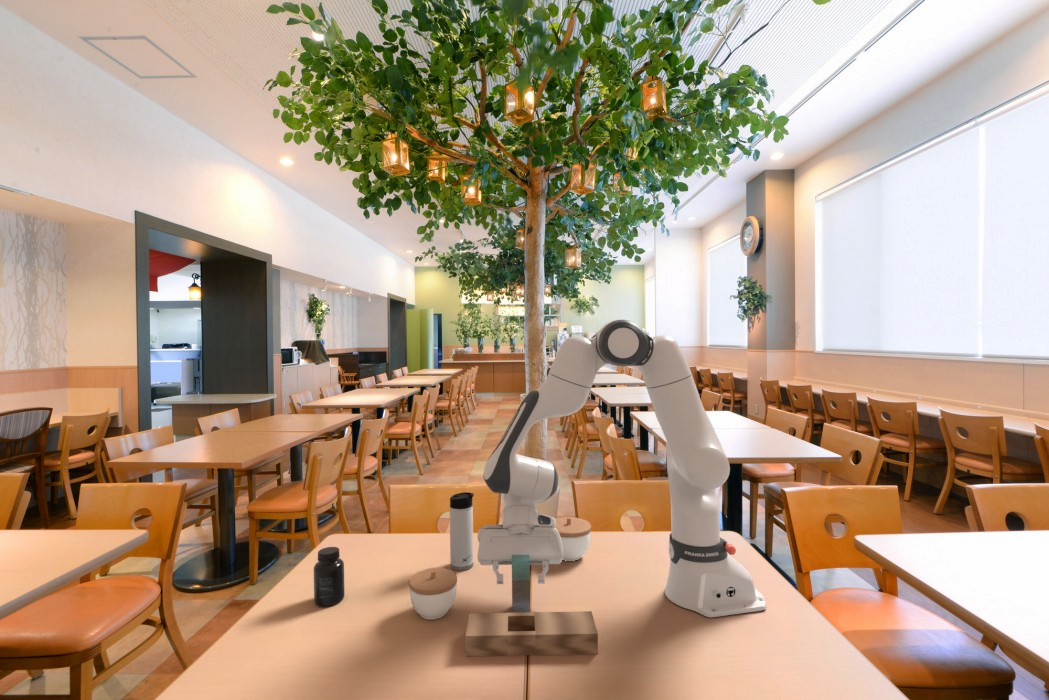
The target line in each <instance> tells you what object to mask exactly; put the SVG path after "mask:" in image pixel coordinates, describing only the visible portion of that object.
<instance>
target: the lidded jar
mask: <svg viewBox="0 0 1049 700" xmlns="http://www.w3.org/2000/svg"><path fill="white" fill-rule="evenodd" d="M457 583H458V577H457V574H456V572H455V571H453V570H451V569H449V568H443V567H434V568H433V567H431V568H427V569H422V570H420V571H417V572H416V573H415V574H413V575H412V576H411V577H410V578H409V586H408V587H409V595H410V601H411V605H412V607H413V609H414V610H415V611H416V613H417V614H419V615H420V617H421V618H422V619H425V620H431V621H432V620H438V619H441V618H443V617H444V616H445V615H447V613H448V611H449V610H450V609H451V608H452V606H453V604H454V602H455V600H456V596H457V586H458V585H457Z"/></svg>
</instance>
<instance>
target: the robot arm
mask: <svg viewBox="0 0 1049 700" xmlns="http://www.w3.org/2000/svg"><path fill="white" fill-rule="evenodd" d="M606 365H611V366H615V367H636V368H638V370H639V372H640V373H641V375H642V377H643V381H644V385H645V387H646V390H647V393H648V396H649V400H650V402H651V405H652V409H653V411H654V414H655V417H656V420H657V422H658V423H659V426H660V427H661V430H662V433H663V435H664V438H665V440H666V443H665V455H666V469H667V480H668V488H669V494H670V495H669V496H670V497H669V498H670V526H671V527H670V529H671V530H670V531H671V532H670V534H669V541H668V554H669V559H670V562H669V569H668V575H667V580H666V584H665V588H664V595H665V596H666V597H667V599H668V600H669V601H670V602H671V603H673V604H675V605H677V606H680V607H681V608H684V609H686V610H687V609H688V610H691V611H694V612H697V613H699V614H700V615H701V616H705V617H707V618H716V617H717V618H718V617H725V616H730V615H731V616H732V615H739V614H745V613H753V612H759V611H765V610H766V609H767V602H766V599H765V597H764V595H763V594H762V593H761V591H759V589H757V587H755V583H754V579H753V578H752V575H751V573H750V572H749V570H747V569H746V568H745V567H744V566H743V565H742V564H741V563H740V562H739V561H738V560H736V559H735V558H733V557H732V556H734V555H735V554H736V553H737V550H736V549H737V548H736V547H735V546H733V544H731V543H728V541H727V540H726V539H724V538H722V537H721V536H720V535H721V533H720V532H721V527H720V526H721V517H720V516H721V514H720V513H721V512H720V511H721V508H720V503H719V500H718V496H717V491H716V489H718V488H720V487H721V486H723V485H724V484H725V483H726V481H727V480H728V479H729V476H730V472H731V466H730V461H729V460H728V456H727V455H726V453H725V451H724V449H723V447H722V444H721V442H720V439H719V438H718V437H719V436H718V435H717V433H716V431H715V429H714V427H713V424H712V422H711V419H710V418H709V416H708V414H707V412H706V409H705V408H704V405H703V403H702V400H701V397H700V393H699V391H698V388H697V386H696V382H695V380H694V376H693V373H692V370H691V368H690V366H689V363H688V360H687V359H686V356H685V355H684V353H683V350H682V348H681V347H680V345H679V344H678V341H676V339H674V338H673V337H671V336H670V335H664V334H663V335H660V334H659V335H655V336H650V335H649V334H648V333H647V332H646V331H645V330H644V329H642V328H641V326H639V325H638V324H636V323H634V322H633V321H631V320H627V319H615V320H611V321H609V322H607V323H605V324H604V325H603V326H602V327H601V328H600V330H598V331H597V332H596V333H595V334H594V335H592V336H591V337H585V336H584V335H572V336H569V337H567V338H566V339H565V340H564V341H563V342H562V343H561V345H560V347H559V349H558V350H557V352H556V355H555V357H554V358H553V361H552V364H551V366H550V368H549V371H548V373H547V376H546V378H545V380H544V381H543V383H542V384H541V385H540V386H538V388H536V390H533V391H529V392H528V393H527V395H526V396H524V398H523V400H522V401H521V403H520V405H519V407H518V408H517V410H516V412H515V414H514V415H513V417H512V419H511V421H510V422H509V424H508V425H507V428H506V430H505V432H504V434H503V435H502V437H501V439H500V441H499V442H498V444H497V446H496V447H495V449H494V450H493V451H492V453H491V455H490V456H489V457H488V459H487V460H486V463H485V466H484V468H483V477H482V478H483V480H484V482H485V484H486V486H487V487H488V488H489V490H490V491H491V492H492V493H495V494H502V499H503V504H504V505H503V509H502V521H501V522H502V524H484V525H483V526H482V527H479V529H478V531H477V541H478V549H477V561H478V563H479V564H480V565H481V566H492V571H493V573H494V575H495V577H496V585H504V573H500V572H499V568H500V566H512V555H529V562H530V566H531V565H542V571H541V573H537V583H538V584H541V585H543V584H545V581H546V579H545V578H546V577H545V576H546V575H547V572H548V571H549V568H550V567H549V566H550V565H560V564H561V563H562V562H563V561H562V560H563V548H562V542H561V537H560V534H559V532H558V531H557V529H556V521H555V519H556V518H554V516H549V515H546V514H542V513H540V512H538V509H537V506H538V505H539V504H542V503H544V502H546V501H548V500H549V499H550V498H551V497H553V496H554V495H555V493H557V490H558V487H559V476H558V471H557V469H556V467H555V466H554V463H552V462H549V461H548V460H547V461H546V460H543V459H539V458H534V457H530V456H525V455H522V454H518V451H519V449H520V448H521V446H522V444H523V442H524V440H525V438H526V437H527V435H528V434H529V431H530V430H531V428H532V427H533V425H535V424H536V423H538V422H540V421H543V420H546V419H551V418H560V417H561V418H562V417H567V416H570V415H571V416H572V415H573V414H575V413H577V412H579V411H580V410H581V409H582V408H583V407H584V405H585V404H586V403H587V400H588V399H589V397H590V392H591V390H592V387H593V384H594V381H595V379H596V375H597V374H598V372H599V370H600V369H601V368H603V366H606Z"/></svg>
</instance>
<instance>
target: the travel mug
mask: <svg viewBox="0 0 1049 700" xmlns="http://www.w3.org/2000/svg"><path fill="white" fill-rule="evenodd" d="M474 496H475V493H474V492H467V491H465V492H459V493H455V494H453V495H452V496H450V498H449V545H450V546H449V547H450V550H449V551H450V555H449V556H450V562H449V563H450V567H451V568H452V570H454V571H458V572H459V571H460V572H461V571H467V570H469V569H471V568H472V567H473V566H474V515H473V514H474V513H473V510H474V508H473V505H474V504H473V497H474Z"/></svg>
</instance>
